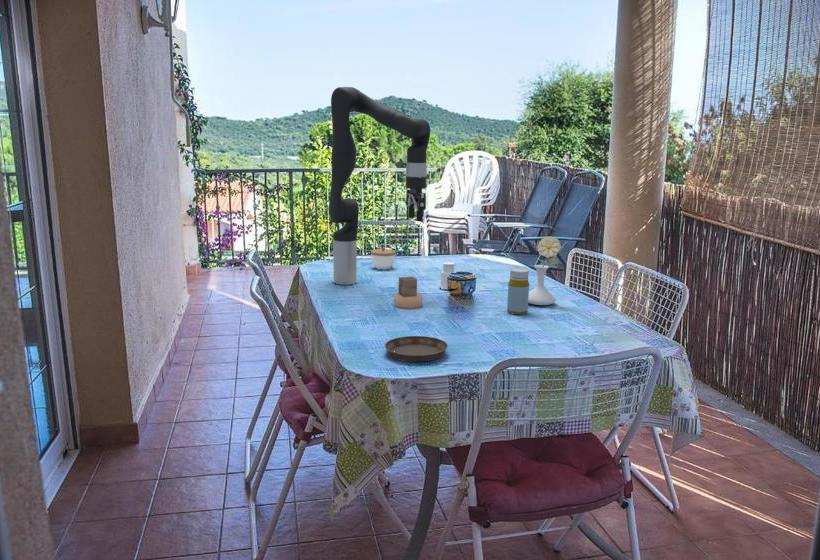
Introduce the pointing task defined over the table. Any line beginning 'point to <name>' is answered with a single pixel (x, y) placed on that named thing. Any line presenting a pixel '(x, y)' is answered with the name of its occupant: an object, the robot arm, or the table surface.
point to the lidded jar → (383, 258)
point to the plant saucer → (416, 348)
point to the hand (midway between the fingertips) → (415, 219)
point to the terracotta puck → (408, 301)
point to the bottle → (518, 291)
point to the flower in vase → (540, 293)
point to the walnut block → (407, 286)
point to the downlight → (446, 273)
